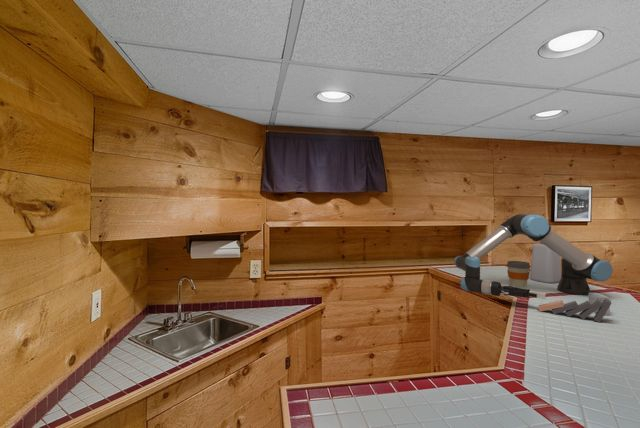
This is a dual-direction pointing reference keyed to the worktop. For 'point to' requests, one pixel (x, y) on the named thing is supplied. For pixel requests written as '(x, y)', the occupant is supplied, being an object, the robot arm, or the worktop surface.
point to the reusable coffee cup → (518, 273)
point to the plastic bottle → (545, 264)
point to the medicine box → (601, 298)
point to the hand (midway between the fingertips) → (545, 296)
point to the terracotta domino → (551, 305)
